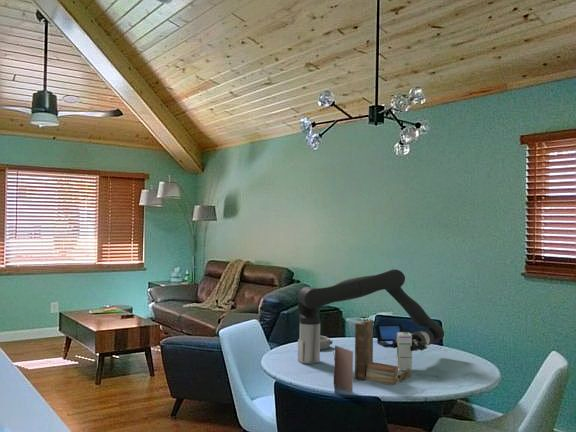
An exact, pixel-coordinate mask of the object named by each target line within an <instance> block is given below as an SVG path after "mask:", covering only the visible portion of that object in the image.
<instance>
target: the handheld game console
mask: <svg viewBox="0 0 576 432" xmlns="http://www.w3.org/2000/svg"><path fill="white" fill-rule="evenodd" d="M374 329H375V335H376V339H377V341H376V342H377V344H378V345H380V346H382V347H384V348H393V347H392V343H393V340H394V339H397V332H404V330H403V329H404V328H403V325H401V324H399V323H397V324H393V323H392V324H375V326H374Z"/></svg>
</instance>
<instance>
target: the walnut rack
mask: <svg viewBox="0 0 576 432" xmlns="http://www.w3.org/2000/svg"><path fill="white" fill-rule="evenodd" d="M354 327H355V329H354V331H355V332H354V333H355V335H354V339H355V341H354V379H355V380H357V381H363V382H364V381H366V372H367V365H368V364H370V363H373V362H374V361H373V360H374V359H373V358H374V354H373V353H374V350H373V349H374V319H368V320H364V321H360V322H356V323H355V326H354ZM411 373H412V369H404V370H403V371H400V375H398V378H399V383H401V382H403V381H405V380H407V379H409V378H411V377H412V374H411Z"/></svg>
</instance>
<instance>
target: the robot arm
mask: <svg viewBox="0 0 576 432" xmlns="http://www.w3.org/2000/svg"><path fill="white" fill-rule="evenodd" d="M405 281H406V276H405V274H404V272H402V271H401V270H400V269H395V268H394V269H393V268H392V269H390V270H387V271H384V272H382V273H378V274H374V275H373V274H371V275H365V276H358V277H352V278H348V279H345V280H342V281H340V282H337V283H336V284H334V285H331V286H327V287H319V288H318V287H317V288H316V287H312V286H304V287H303V288H301V289H300V291H299V293H298V297H297V314H298V319H299V339H298V338H297V361H298V362H300V363H301V364H311V365H313V364H318V363H320V362H321V351H320V336H321V317H320V315H319V310H318V308H321V307H323V306H327V305H330V304H333V303H337V302H344V301H345V302H346V301H351V300H355V299H359V298H363V297H366V296H368V295H370V294H371V295H372V294H373V293H376V292H378V291H382V290H385V291H386V292H387V293H388V294H389V295H390V296H391V297H392V298H393V299H394V301H396V302H397V303H398V304H399V305H400V306H401V308H403V310H404V311H405V312H406V314H407V315H408V316H409V317H410V320H411V321H413V323H414V324H415V325H416V326H417V327H419V328H423V327H427V328H425V329H422V330H420V331H419V330H418V331H415V332H413V333H410V334H411V335H412V345H411V346H410V351H412V352H416V351H418V352H419V351H424V350H427V349H428V346H431V345H432V344H434V343H436V342H438V341H440V340H441V339H443V338H444V337H445V331H444V328H443V327H442V326H441V325H440V324H438V323H437V322H436V321H435V320H433V319H432V318H431V317H430V316H429V315H428V314H427V313H426V311H425V310H424V308H423V307H422V306H421V305H420V304H419V303H418V302H417V301H415V300H414V299H413V298H412V297H410V295H408V294H407V293H406V292H405V291H404V290H403V288H402V286H404V283H406V282H405ZM391 348H393V349H397V339H394V340H393V343H392V347H391Z"/></svg>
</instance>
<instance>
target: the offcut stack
mask: <svg viewBox="0 0 576 432" xmlns="http://www.w3.org/2000/svg"><path fill="white" fill-rule="evenodd" d="M400 372H401V370H400V369H399V368H398V366H397V365H392V364H388V363H387V364H386V363H380V362H374V361H373V363H370V364H368V365H367V372H366V377H365V381H370V382H375V383H380V384H386V385H389V386H395V385H397V384H399V383H400V382H399V378H398V375H400Z"/></svg>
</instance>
